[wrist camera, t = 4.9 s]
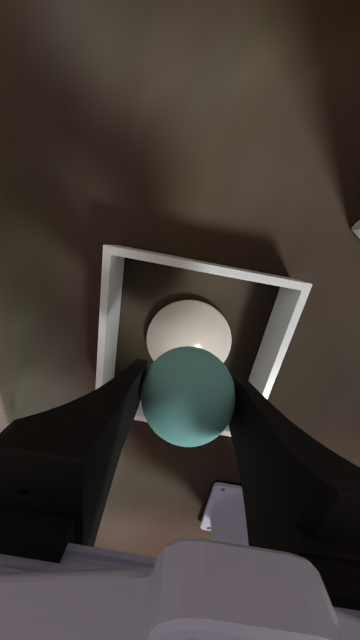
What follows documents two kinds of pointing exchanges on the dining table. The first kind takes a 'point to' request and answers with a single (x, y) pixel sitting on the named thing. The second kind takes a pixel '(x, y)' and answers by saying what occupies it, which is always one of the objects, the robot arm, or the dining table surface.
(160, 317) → the saucer
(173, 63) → the dining table surface
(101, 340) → the white square frame
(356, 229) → the skincare box
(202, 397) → the ball
